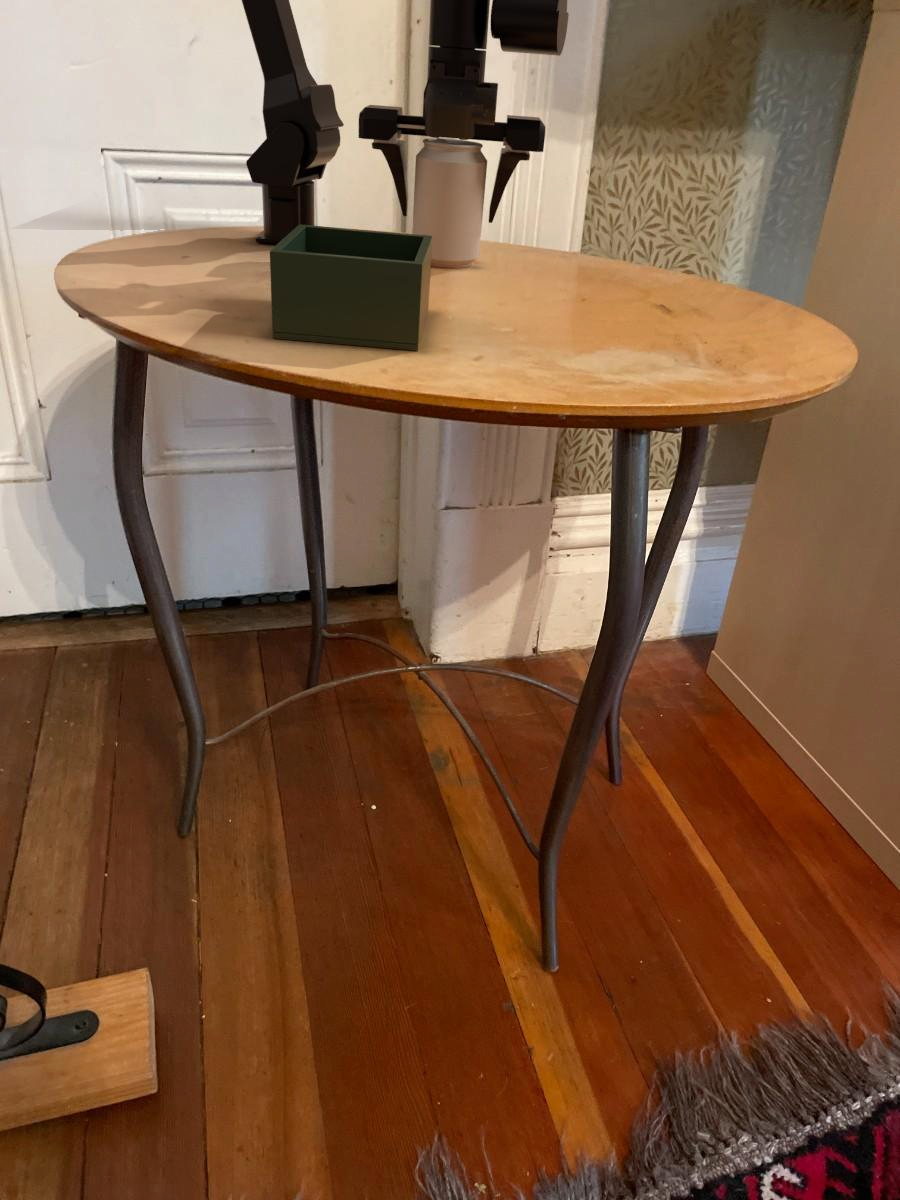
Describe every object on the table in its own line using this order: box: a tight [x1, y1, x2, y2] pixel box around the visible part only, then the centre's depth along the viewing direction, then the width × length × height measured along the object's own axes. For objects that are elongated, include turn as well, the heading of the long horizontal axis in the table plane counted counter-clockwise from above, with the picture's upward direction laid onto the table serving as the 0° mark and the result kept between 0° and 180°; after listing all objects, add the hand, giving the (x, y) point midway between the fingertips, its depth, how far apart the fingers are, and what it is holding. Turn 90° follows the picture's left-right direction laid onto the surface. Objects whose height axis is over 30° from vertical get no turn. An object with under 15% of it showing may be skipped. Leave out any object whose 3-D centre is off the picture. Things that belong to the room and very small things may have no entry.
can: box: [411, 137, 488, 269], centre depth 94 cm, size 8×8×12 cm
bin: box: [269, 224, 433, 352], centre depth 72 cm, size 11×11×6 cm
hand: (447, 219), depth 95 cm, fingers open, 9 cm apart
